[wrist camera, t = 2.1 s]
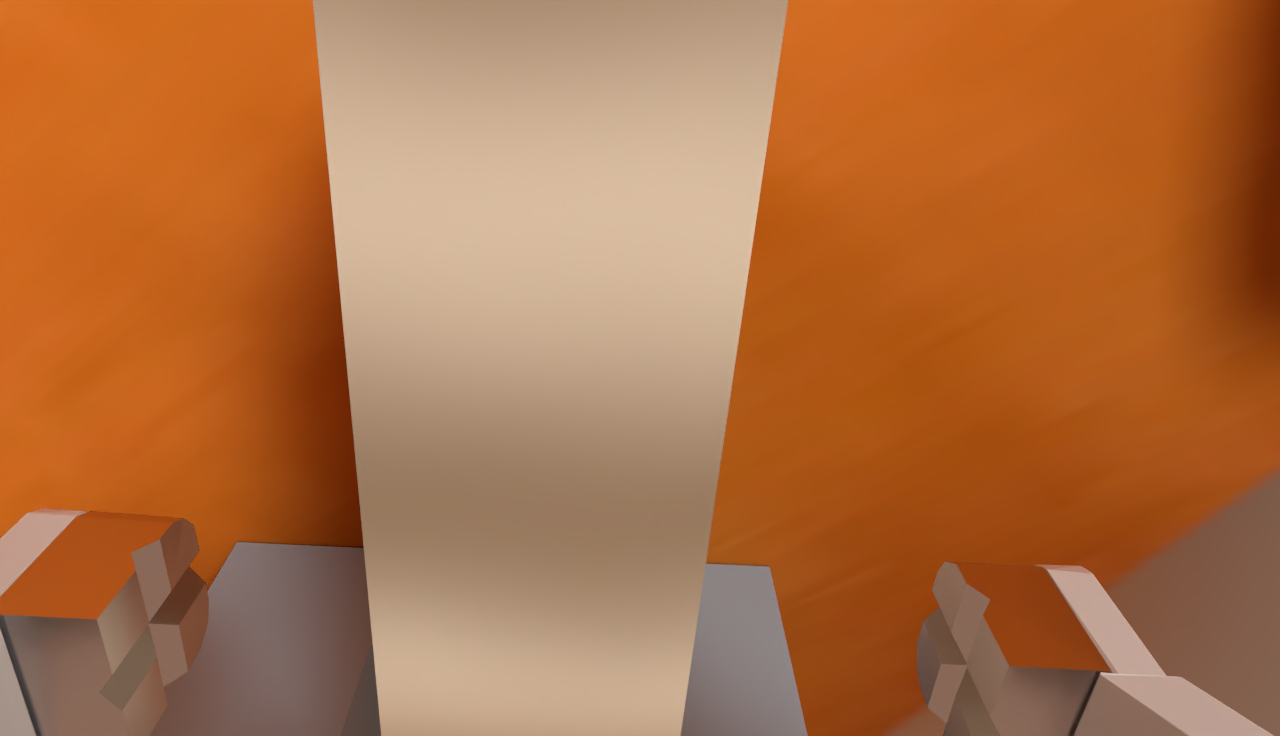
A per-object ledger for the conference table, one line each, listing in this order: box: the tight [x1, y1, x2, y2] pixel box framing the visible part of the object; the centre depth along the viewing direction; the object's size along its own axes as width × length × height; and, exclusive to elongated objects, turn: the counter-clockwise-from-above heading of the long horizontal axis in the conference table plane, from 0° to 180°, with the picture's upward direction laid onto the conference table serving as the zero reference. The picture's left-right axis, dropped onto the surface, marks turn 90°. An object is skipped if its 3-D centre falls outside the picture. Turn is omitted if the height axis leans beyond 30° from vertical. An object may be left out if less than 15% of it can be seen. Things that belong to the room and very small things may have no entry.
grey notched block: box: [150, 542, 807, 736], centre depth 21 cm, size 14×4×6 cm, turn 86°
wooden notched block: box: [313, 0, 788, 736], centre depth 14 cm, size 12×4×10 cm, turn 176°
